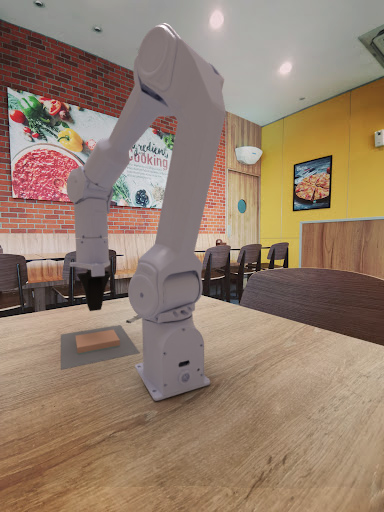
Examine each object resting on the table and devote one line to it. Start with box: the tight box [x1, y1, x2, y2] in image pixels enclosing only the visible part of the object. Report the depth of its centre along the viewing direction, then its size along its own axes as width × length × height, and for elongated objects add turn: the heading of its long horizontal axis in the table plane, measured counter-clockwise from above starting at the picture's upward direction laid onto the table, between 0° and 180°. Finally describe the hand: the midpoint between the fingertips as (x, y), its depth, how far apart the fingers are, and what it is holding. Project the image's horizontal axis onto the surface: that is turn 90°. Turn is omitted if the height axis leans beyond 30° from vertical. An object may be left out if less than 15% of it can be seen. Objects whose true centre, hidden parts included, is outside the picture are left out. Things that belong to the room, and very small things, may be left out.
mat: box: [60, 324, 141, 371], centre depth 48 cm, size 16×12×1 cm
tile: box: [75, 330, 120, 354], centre depth 47 cm, size 1×7×6 cm
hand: (94, 309), depth 49 cm, fingers closed
